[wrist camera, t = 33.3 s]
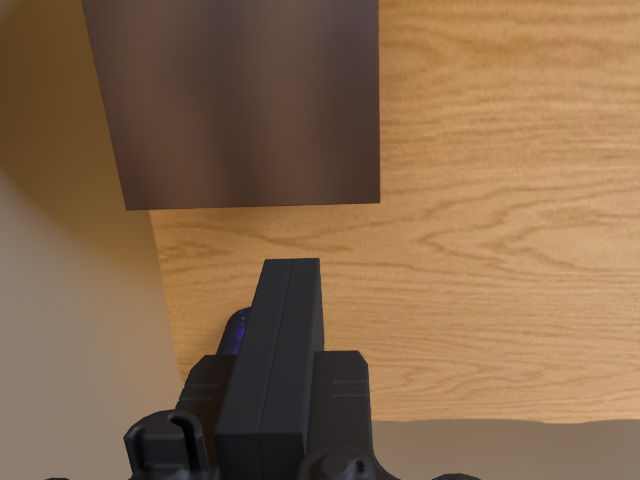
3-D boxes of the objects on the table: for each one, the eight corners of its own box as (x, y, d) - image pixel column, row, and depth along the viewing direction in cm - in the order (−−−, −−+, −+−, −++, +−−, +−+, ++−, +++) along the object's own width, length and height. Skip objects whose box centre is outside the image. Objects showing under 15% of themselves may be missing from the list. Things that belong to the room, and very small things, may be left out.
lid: (375, -213, 23) (376, -220, 22) (379, 198, 30) (380, 203, 30) (49, -185, 24) (40, -190, 23) (131, 205, 31) (126, 210, 31)
